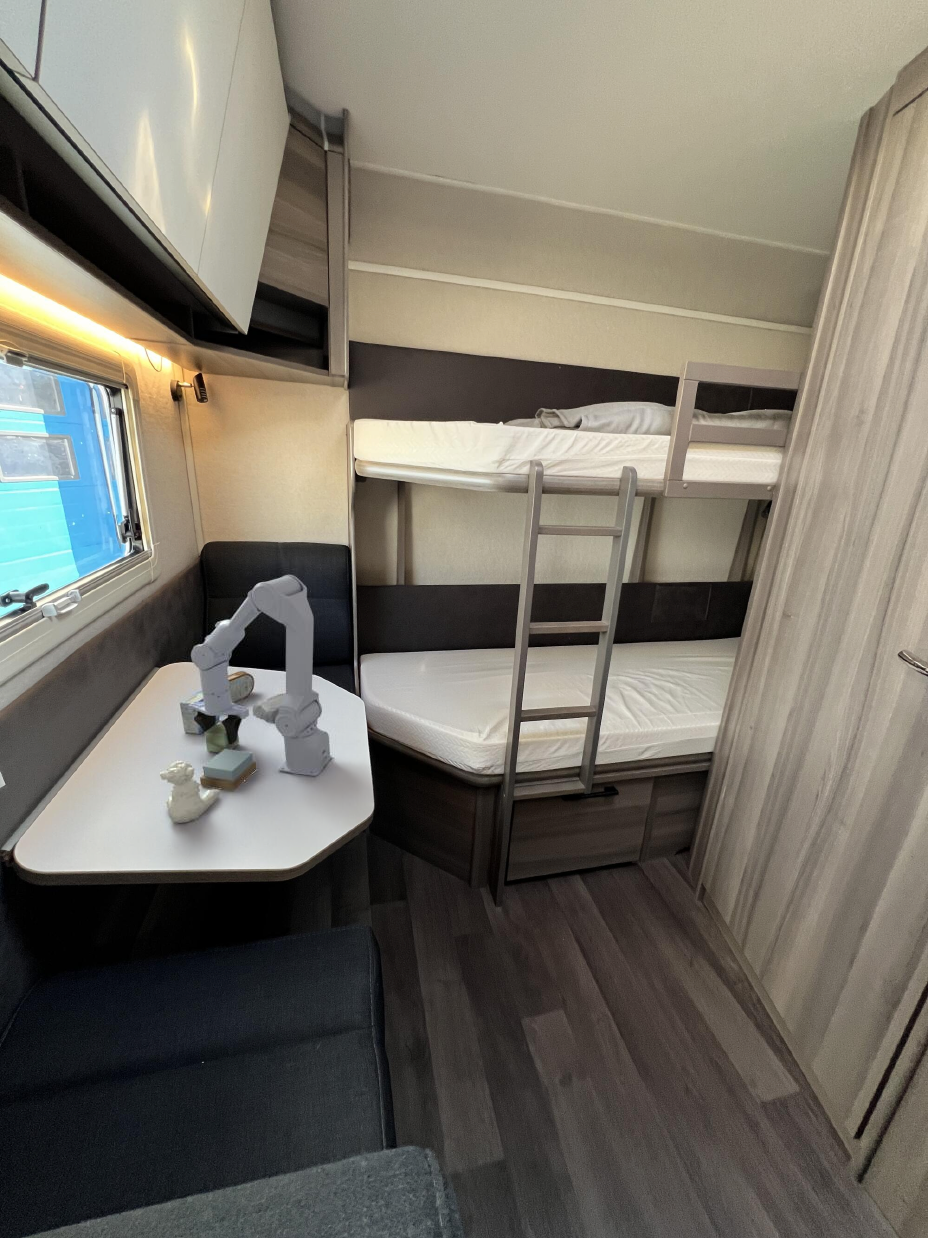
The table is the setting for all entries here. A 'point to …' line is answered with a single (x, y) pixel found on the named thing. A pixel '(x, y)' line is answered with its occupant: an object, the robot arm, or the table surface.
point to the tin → (240, 685)
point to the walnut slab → (226, 783)
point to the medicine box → (191, 714)
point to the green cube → (218, 739)
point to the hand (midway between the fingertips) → (222, 740)
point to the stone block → (268, 708)
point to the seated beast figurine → (186, 793)
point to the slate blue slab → (228, 764)
